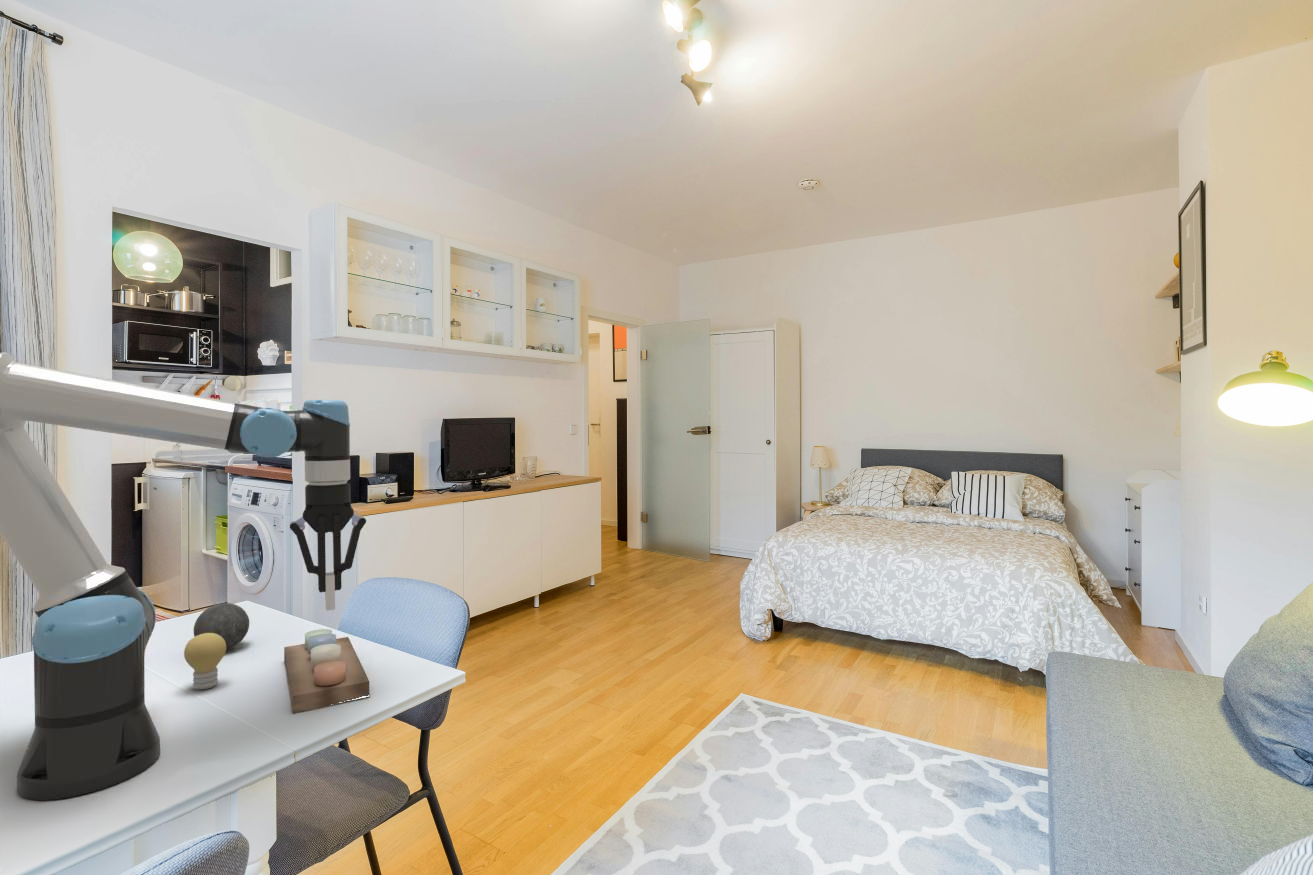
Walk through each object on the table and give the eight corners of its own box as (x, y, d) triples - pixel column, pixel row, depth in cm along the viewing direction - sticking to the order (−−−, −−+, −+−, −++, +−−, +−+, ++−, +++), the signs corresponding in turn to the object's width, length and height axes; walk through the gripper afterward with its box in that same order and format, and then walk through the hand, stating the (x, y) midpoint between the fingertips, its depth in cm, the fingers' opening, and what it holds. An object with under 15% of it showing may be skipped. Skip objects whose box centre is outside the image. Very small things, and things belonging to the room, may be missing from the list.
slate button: (308, 656, 122) (308, 643, 122) (306, 649, 126) (306, 636, 126) (337, 652, 125) (337, 638, 125) (334, 644, 129) (334, 631, 129)
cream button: (312, 668, 116) (311, 654, 116) (309, 660, 120) (309, 646, 120) (342, 663, 119) (342, 649, 119) (338, 655, 123) (338, 641, 123)
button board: (292, 713, 108) (292, 695, 108) (284, 661, 131) (284, 646, 131) (369, 697, 114) (369, 680, 114) (348, 650, 138) (348, 636, 138)
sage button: (305, 651, 128) (305, 638, 128) (303, 643, 132) (303, 631, 132) (333, 646, 131) (333, 634, 131) (330, 639, 135) (330, 627, 135)
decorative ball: (199, 645, 140) (199, 600, 140) (252, 639, 144) (252, 595, 144) (188, 660, 131) (188, 612, 131) (245, 653, 135) (245, 607, 135)
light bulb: (177, 689, 117) (176, 635, 117) (214, 677, 123) (214, 626, 122) (196, 696, 114) (195, 641, 114) (233, 684, 120) (233, 631, 119)
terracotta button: (315, 687, 110) (315, 673, 110) (312, 678, 115) (312, 663, 115) (347, 681, 113) (347, 667, 113) (343, 672, 117) (343, 658, 117)
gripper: (364, 479, 125) (366, 598, 125) (287, 482, 118) (290, 608, 119) (368, 482, 118) (370, 607, 119) (287, 486, 112) (290, 619, 112)
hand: (330, 607), depth 119 cm, fingers closed
